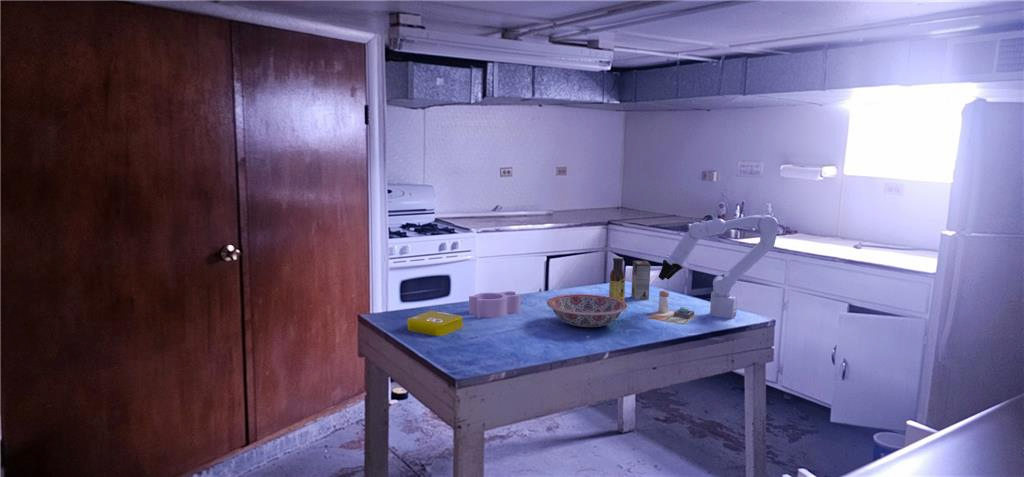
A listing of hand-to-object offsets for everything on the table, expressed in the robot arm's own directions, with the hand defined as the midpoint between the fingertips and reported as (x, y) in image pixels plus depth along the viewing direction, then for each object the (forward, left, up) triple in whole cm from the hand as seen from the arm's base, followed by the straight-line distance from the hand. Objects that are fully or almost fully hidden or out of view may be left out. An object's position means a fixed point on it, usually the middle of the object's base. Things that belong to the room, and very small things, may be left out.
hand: (663, 278), depth 258 cm
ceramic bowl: (+17, +33, -14) cm, 40 cm away
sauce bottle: (+19, 0, -14) cm, 24 cm away
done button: (-10, +4, -13) cm, 17 cm away
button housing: (-10, +4, -13) cm, 17 cm away
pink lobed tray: (+53, +38, -14) cm, 67 cm away
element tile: (+59, +68, -14) cm, 91 cm away
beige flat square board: (-6, +8, -14) cm, 17 cm away
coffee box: (+15, -16, -14) cm, 26 cm away
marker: (-1, +3, -13) cm, 13 cm away
